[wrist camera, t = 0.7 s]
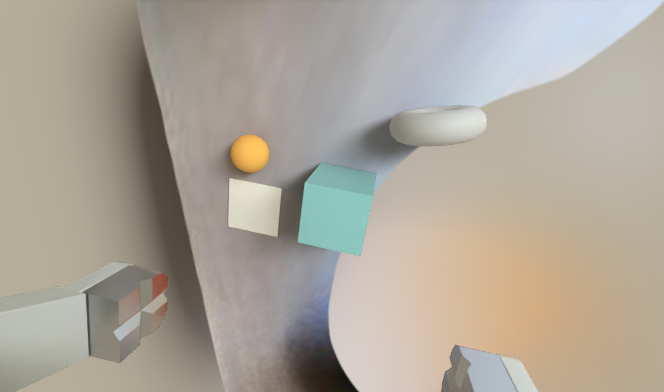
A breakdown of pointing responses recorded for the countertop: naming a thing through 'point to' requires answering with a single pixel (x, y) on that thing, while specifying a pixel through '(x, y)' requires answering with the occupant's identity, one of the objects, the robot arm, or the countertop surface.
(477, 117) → the donut
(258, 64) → the countertop surface
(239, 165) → the ball
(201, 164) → the countertop surface
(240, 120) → the countertop surface
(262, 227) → the square tile
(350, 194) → the teal cube
